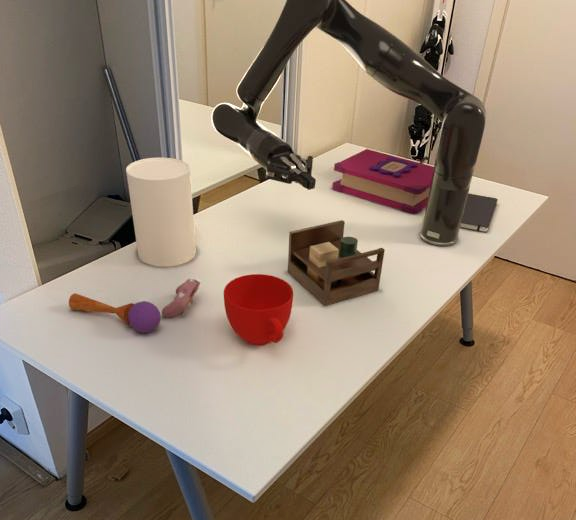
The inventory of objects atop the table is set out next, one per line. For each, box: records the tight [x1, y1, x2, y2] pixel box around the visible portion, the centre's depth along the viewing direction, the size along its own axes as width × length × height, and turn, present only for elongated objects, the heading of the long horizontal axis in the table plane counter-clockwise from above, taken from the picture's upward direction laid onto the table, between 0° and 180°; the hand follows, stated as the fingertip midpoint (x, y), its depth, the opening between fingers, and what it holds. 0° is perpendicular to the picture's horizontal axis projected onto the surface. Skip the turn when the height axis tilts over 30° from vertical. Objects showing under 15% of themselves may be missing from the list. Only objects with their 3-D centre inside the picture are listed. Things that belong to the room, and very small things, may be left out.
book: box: [331, 148, 434, 215], centre depth 171 cm, size 21×28×8 cm
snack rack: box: [287, 219, 386, 307], centre depth 128 cm, size 14×16×10 cm
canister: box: [125, 157, 197, 267], centre depth 132 cm, size 14×14×20 cm
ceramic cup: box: [223, 273, 294, 346], centre depth 110 cm, size 13×17×10 cm
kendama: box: [68, 293, 162, 334], centre depth 115 cm, size 6×6×20 cm
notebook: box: [460, 192, 499, 233], centre depth 162 cm, size 13×2×21 cm
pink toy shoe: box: [161, 277, 201, 319], centre depth 119 cm, size 10×5×7 cm, turn 169°
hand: (312, 185), depth 127 cm, fingers closed
